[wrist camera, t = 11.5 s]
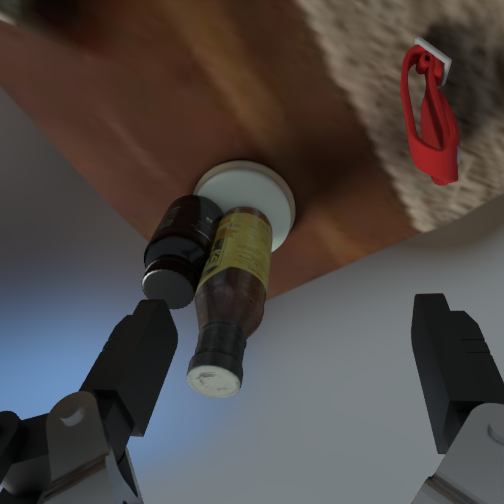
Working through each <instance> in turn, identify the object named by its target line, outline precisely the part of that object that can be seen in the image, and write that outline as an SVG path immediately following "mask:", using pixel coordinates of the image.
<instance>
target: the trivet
mask: <svg viewBox="0 0 504 504" xmlns="http://www.w3.org/2000/svg"><path fill="white" fill-rule="evenodd" d="M193 195H199V196H203V197H206V198H208V199H210V200H212V201H213V202H214V203H216V204H217V205H218V206H219V207H220V209H221V210H222V212H223V214H224V215H225V214H226V213H227V212H228V211H229V210H231V209H233V208H236V207H242V206H244V207H251V208H255V209H257V210H260V211H261V212H262V213H263V214H265V215H266V217H267V218H268V220H269V222H270V223H271V226H272V233H273V234H272V236H273V242H272V252H273V251H275V250H276V249H277V248H278V247H279V246H280V245H281V244H282V243H283V242H284V240H285V239H286V237H287V235H288V233H289V232H290V230H291V228H292V226H293V223H294V219H295V200H294V196H293V193H292V191H291V189H290V187H289V186H288V184H287V182H286V181H285V180H284V179H283V178H282V177H281V176H280V175H279V174H278V173H277V172H276V171H274V170H273V169H271V168H269V167H267V166H265V165H263V164H261V163H258V162H254V161H249V160H233V161H227V162H224V163H221V164H219V165H216V166H215V167H213V168H211V169H210V170H209V171H207V172H206V173H205V174H204V175H203V176H202V177H201V179H200V180H199V182H198V183H197V185H196V188H195V190H194V193H193Z"/></svg>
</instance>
